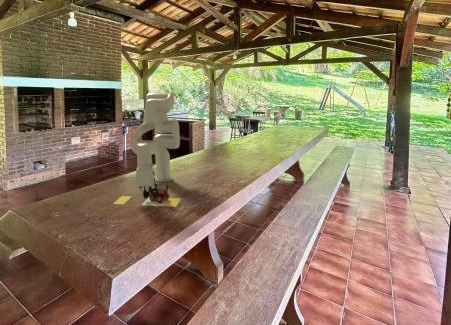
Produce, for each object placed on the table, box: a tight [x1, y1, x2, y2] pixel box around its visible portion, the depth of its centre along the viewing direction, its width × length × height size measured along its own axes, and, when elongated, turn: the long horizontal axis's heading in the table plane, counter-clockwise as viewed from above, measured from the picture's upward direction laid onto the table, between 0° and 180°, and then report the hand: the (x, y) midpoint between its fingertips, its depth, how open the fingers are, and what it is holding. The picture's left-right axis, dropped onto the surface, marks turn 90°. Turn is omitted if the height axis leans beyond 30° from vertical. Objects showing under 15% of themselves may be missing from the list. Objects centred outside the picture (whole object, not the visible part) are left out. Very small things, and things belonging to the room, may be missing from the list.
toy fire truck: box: [149, 182, 170, 203], centre depth 163 cm, size 7×12×10 cm, turn 64°
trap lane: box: [112, 195, 182, 208], centre depth 163 cm, size 12×35×1 cm, turn 86°
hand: (146, 197), depth 162 cm, fingers closed
